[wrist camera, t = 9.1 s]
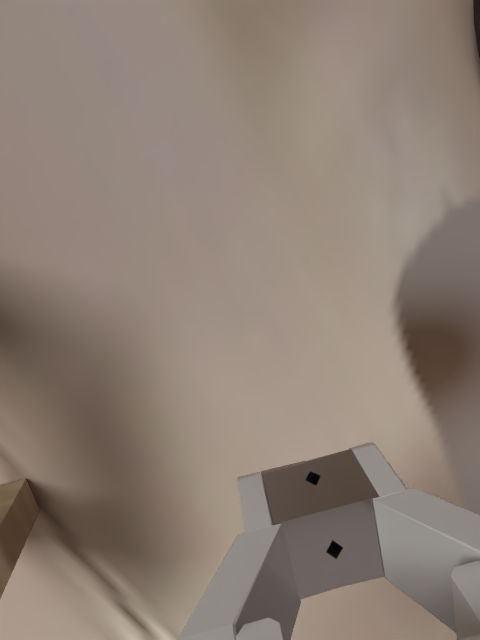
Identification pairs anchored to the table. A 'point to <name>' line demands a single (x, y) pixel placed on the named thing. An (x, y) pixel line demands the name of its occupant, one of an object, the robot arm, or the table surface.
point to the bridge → (14, 524)
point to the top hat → (477, 21)
